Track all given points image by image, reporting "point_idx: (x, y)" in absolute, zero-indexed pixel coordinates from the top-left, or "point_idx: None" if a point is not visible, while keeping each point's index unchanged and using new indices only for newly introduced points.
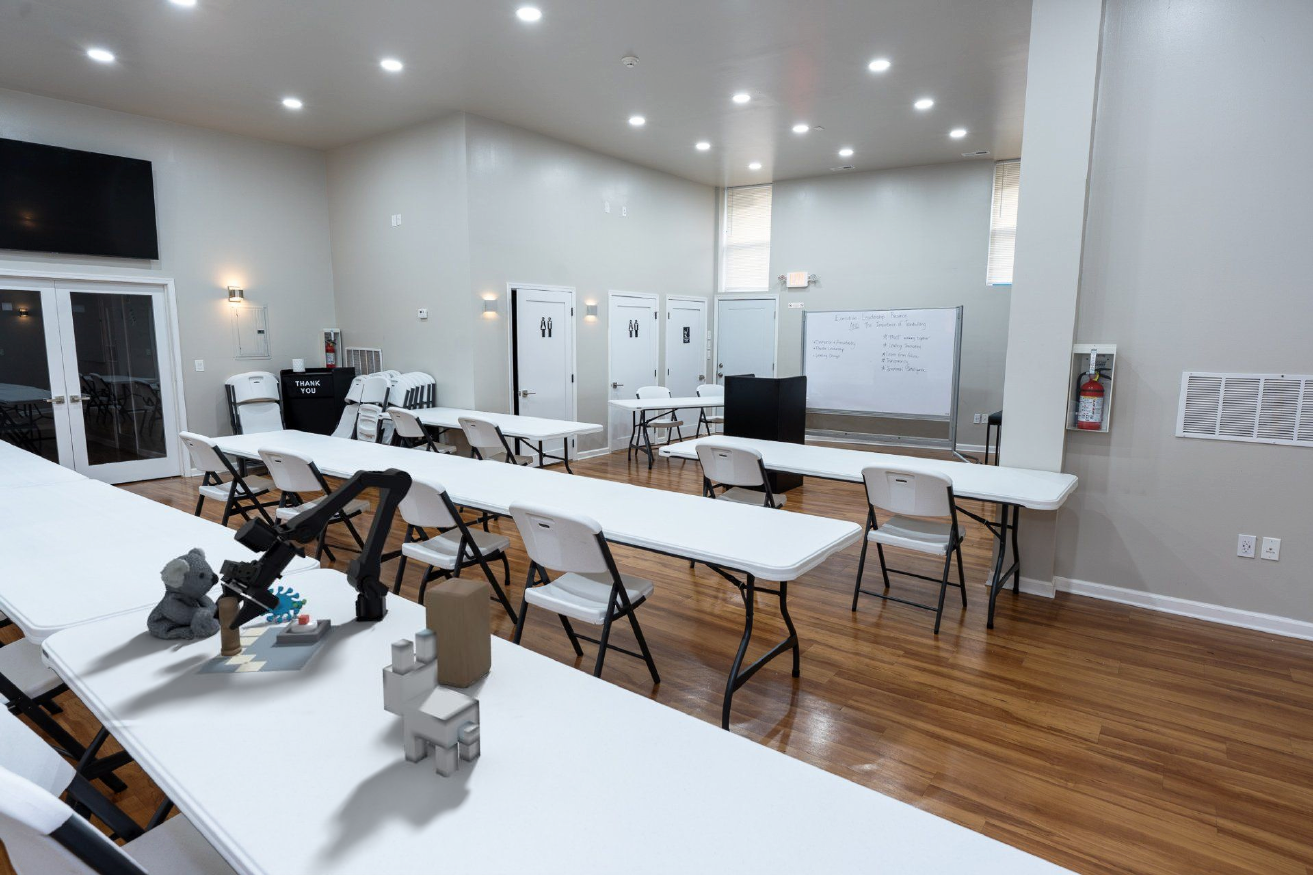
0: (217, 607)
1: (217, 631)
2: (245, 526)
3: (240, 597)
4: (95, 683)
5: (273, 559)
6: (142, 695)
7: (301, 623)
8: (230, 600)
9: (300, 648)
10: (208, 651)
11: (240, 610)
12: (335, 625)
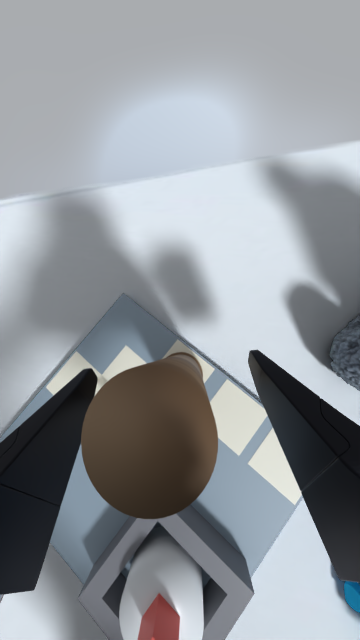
0: (284, 378)
1: (346, 381)
2: None
3: (336, 545)
4: (221, 174)
5: None
6: (118, 223)
7: (151, 608)
8: (113, 447)
9: (89, 509)
10: (243, 340)
11: (15, 447)
12: None
